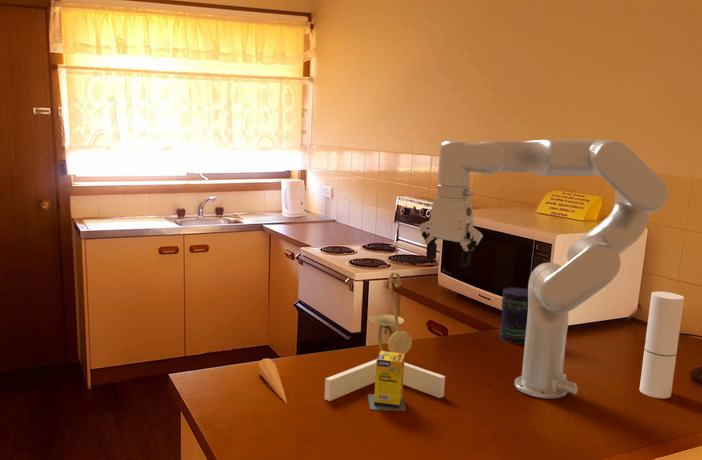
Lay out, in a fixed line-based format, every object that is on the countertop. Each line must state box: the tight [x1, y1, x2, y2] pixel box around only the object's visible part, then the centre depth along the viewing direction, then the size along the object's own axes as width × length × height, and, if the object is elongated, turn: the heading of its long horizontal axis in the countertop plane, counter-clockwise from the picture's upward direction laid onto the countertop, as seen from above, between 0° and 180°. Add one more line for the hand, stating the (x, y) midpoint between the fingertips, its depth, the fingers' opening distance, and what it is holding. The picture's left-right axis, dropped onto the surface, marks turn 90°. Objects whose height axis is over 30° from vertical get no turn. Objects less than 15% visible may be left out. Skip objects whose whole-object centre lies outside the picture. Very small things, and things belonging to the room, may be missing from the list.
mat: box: [367, 393, 407, 412], centre depth 147 cm, size 8×8×1 cm
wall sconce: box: [369, 270, 413, 355], centre depth 172 cm, size 14×10×25 cm
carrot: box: [258, 358, 288, 405], centre depth 153 cm, size 20×4×4 cm, turn 22°
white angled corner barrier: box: [324, 358, 446, 402], centre depth 149 cm, size 18×22×5 cm
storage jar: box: [498, 287, 528, 345], centre depth 196 cm, size 10×10×15 cm
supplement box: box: [374, 350, 406, 408], centre depth 146 cm, size 6×6×11 cm
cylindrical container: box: [639, 291, 685, 399], centre depth 158 cm, size 7×7×25 cm
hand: (447, 263), depth 156 cm, fingers open, 9 cm apart
